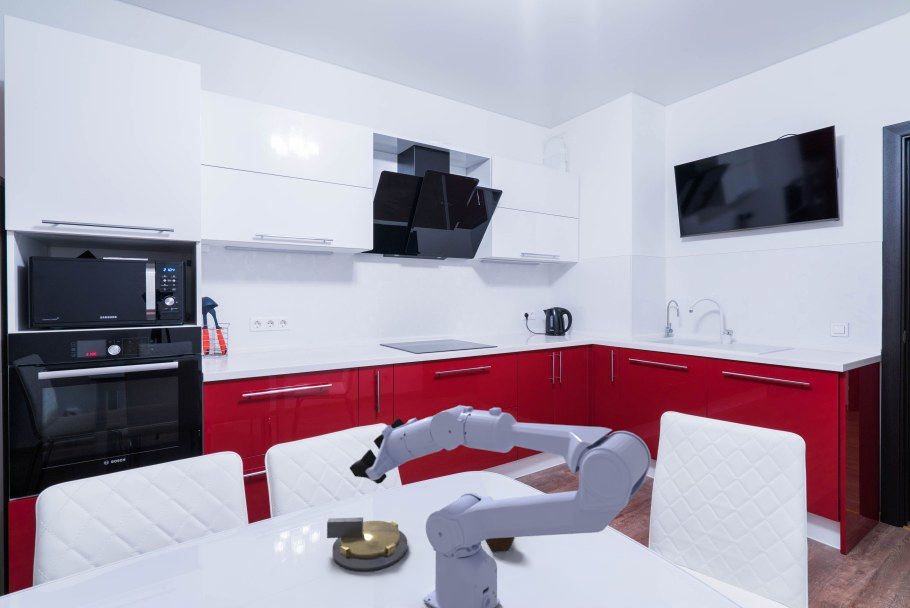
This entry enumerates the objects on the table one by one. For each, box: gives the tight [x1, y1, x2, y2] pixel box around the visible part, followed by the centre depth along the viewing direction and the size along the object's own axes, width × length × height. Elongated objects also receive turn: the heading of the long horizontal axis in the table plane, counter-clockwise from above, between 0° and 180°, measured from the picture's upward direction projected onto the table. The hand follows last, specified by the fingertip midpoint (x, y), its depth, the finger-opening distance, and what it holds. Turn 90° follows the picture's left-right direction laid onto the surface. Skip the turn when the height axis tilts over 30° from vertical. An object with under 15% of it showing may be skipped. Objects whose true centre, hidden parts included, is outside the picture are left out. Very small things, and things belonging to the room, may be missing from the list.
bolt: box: [484, 537, 515, 553], centre depth 93 cm, size 6×5×15 cm
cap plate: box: [332, 530, 408, 573], centre depth 86 cm, size 14×14×1 cm
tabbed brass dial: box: [326, 516, 400, 559], centre depth 86 cm, size 12×12×4 cm
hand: (365, 457), depth 84 cm, fingers open, 7 cm apart
